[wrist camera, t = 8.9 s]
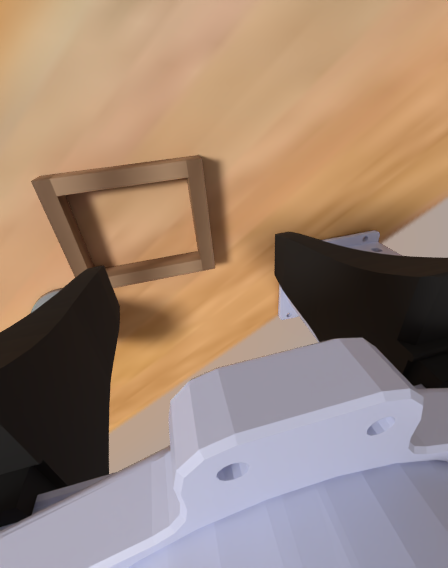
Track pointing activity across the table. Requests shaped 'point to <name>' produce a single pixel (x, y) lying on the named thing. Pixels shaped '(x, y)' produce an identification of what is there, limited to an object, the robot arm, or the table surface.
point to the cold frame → (62, 184)
